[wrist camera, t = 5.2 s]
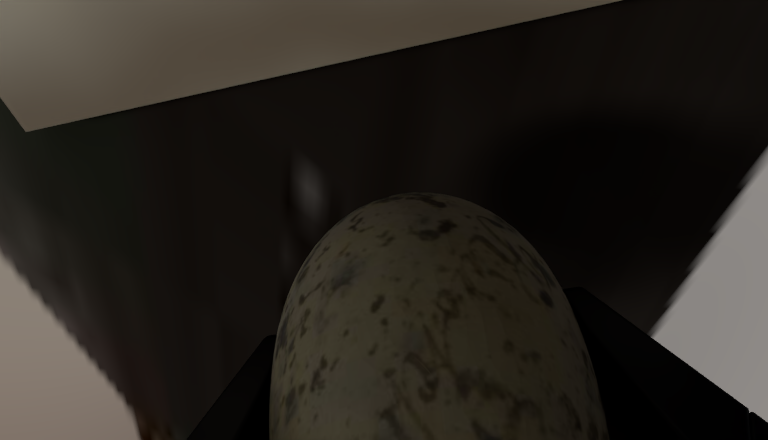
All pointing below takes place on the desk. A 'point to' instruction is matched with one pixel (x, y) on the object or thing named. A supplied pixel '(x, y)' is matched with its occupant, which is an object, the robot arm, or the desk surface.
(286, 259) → the desk surface
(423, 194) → the decorative egg
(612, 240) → the desk surface
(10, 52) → the fitting board
